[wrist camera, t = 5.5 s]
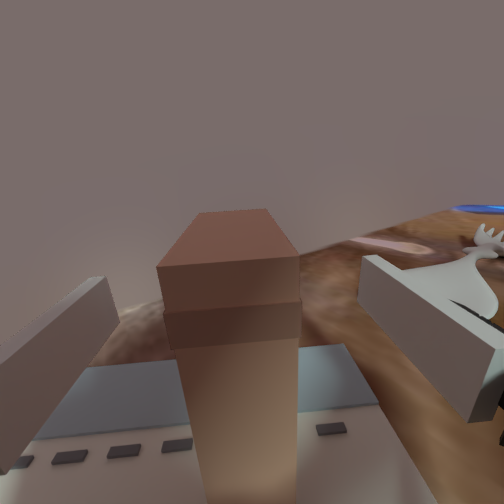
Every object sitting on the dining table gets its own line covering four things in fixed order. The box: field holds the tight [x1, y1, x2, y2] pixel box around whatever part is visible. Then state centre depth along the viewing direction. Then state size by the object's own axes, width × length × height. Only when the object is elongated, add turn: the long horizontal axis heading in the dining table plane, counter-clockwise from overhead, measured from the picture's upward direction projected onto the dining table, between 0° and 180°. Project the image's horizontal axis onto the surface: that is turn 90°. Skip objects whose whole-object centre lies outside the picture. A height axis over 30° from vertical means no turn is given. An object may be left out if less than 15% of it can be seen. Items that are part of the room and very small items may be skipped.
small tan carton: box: [156, 209, 302, 504], centre depth 9 cm, size 3×6×10 cm, turn 4°
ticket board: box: [0, 344, 438, 504], centre depth 11 cm, size 26×11×1 cm, turn 94°
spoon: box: [402, 224, 504, 319], centre depth 27 cm, size 9×32×3 cm, turn 121°
